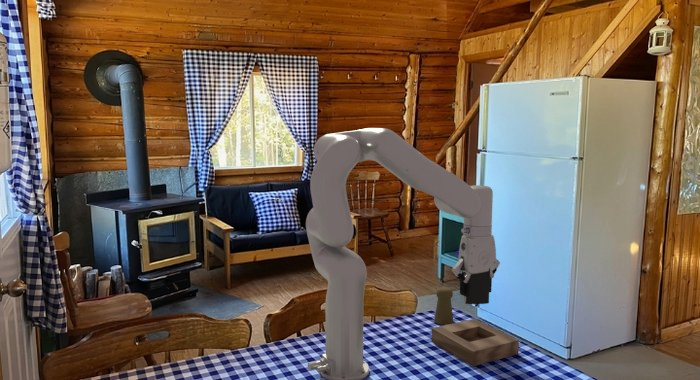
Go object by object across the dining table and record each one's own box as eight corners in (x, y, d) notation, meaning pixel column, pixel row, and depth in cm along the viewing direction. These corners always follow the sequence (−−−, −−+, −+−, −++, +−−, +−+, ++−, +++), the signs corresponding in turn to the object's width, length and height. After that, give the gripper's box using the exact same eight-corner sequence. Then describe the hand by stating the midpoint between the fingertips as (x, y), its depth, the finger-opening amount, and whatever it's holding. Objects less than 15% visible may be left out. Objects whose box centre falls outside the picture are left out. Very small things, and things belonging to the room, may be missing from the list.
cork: (432, 323, 170) (433, 289, 168) (435, 317, 175) (436, 284, 174) (452, 325, 168) (453, 291, 166) (454, 319, 174) (455, 286, 172)
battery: (485, 299, 152) (486, 260, 151) (490, 304, 149) (491, 264, 147) (461, 300, 152) (462, 261, 150) (465, 305, 148) (466, 264, 147)
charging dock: (473, 366, 140) (473, 351, 140) (431, 341, 156) (431, 328, 155) (518, 353, 148) (518, 340, 147) (474, 331, 163) (474, 318, 163)
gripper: (461, 236, 140) (459, 302, 142) (511, 230, 148) (508, 292, 151) (443, 231, 147) (442, 294, 149) (491, 225, 155) (490, 285, 157)
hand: (475, 292), depth 150 cm, fingers closed on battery, 7 cm apart
